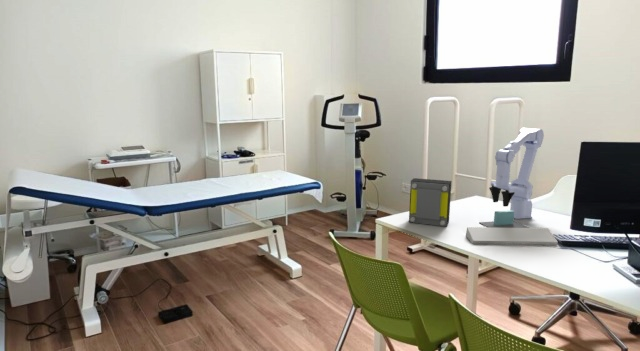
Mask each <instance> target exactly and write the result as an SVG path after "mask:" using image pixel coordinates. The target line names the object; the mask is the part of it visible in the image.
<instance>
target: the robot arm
mask: <svg viewBox="0 0 640 351" xmlns="http://www.w3.org/2000/svg"><path fill="white" fill-rule="evenodd" d="M544 137H545V135H544V130H543V129H542V128H532V127H531V128H530V127H522V128H520V130H519V131H518V136H517V137H516V138H515V139H514V140H511V141H509V142H508V143H507V144H506V146H504V147H503V149H499V150H496V153H495V156H494V158H495V165H496V174H495V181H490V187H489V188H488V190H489V191H490V193H491V196H492V202H493V203H498V202H499V201H500V200H499V198H500V194H501V195H502V206H503V207H509V205H510V208H509V211H510V210H512V211H514V220H521V219H532V218H533V216H532V212H533V203H532V200H531V197H532V195H533V184H532V183H531V182H530V181H529V180H530V176H531V173H532V170H533V165H534V162H535V159H536V156H537V152H538V149H539V148H541V147H542V144H543V141H544ZM521 146H524V147H525V151H524V154H523V158H522V161H521V165H520V169H519V171H518V174H517V178H515V179H514V180H512V181H511V183H510V177H511V176H510V175H511V174H510V173H511V164H512V163H513V161H514V160H515V159H514V158H515V157H516V154H517V153H519V152H520V151H521Z"/></svg>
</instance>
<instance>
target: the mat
mask: <svg viewBox="0 0 640 351" xmlns="http://www.w3.org/2000/svg"><path fill="white" fill-rule="evenodd" d="M478 223H479V224H480V225H482V226H483V227H491V228H530V227H529V226H527V225H524V224H523V223H520V222H519V221H517V220H515V219H513V224H509V225H494V220H493V221H481V222H478Z"/></svg>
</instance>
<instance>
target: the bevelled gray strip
mask: <svg viewBox="0 0 640 351" xmlns="http://www.w3.org/2000/svg"><path fill="white" fill-rule="evenodd" d="M465 237H466V238H467V239H468V240H469V241H470V243H471V244H474V245H475V244H476V245H478V244H479V245H525V246H526V245H529V246H530V245H531V246H532V245H534V246H541V245H542V246H557V245H558V242H559V241H558V240H557V239H556V238H555V236H554V234H552V232H551V230H550V229H549V228H547V227H545V228H544V227H543V228H542V227H529V228H491V227H486V226H483V227H482V226H481V227H478V226H474V227H473V226H469V227H468V226H467V227H466V231H465Z"/></svg>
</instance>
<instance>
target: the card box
mask: <svg viewBox="0 0 640 351" xmlns="http://www.w3.org/2000/svg"><path fill="white" fill-rule="evenodd" d="M493 215H494V216H493V221H494V225H509V224H513V220H515V218H514V211H512V210H510V209H509V210H497V211H496V210H495V211H494V214H493Z"/></svg>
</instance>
